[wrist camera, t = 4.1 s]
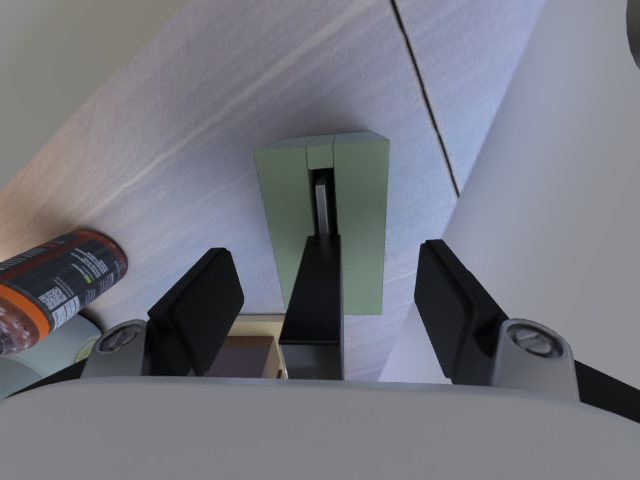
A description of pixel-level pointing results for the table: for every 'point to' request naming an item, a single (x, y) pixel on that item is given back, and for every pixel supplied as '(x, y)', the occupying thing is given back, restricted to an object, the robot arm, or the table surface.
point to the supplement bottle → (53, 285)
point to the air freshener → (48, 355)
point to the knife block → (349, 208)
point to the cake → (251, 349)
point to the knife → (317, 301)
